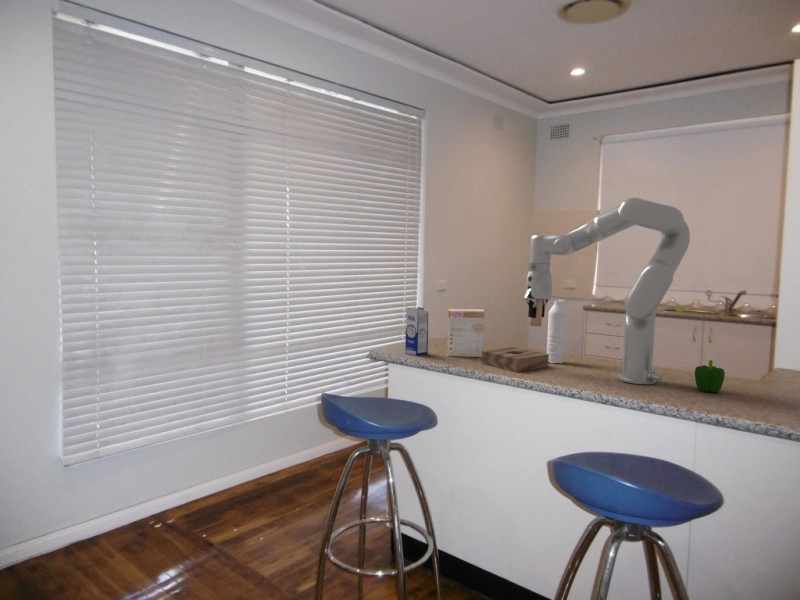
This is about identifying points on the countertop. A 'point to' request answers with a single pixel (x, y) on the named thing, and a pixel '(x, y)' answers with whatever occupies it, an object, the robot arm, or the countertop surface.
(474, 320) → the coffeecake box
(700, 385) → the bell pepper
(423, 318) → the milk carton
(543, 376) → the countertop surface
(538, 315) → the peg
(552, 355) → the water bottle
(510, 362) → the socket block
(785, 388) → the countertop surface
